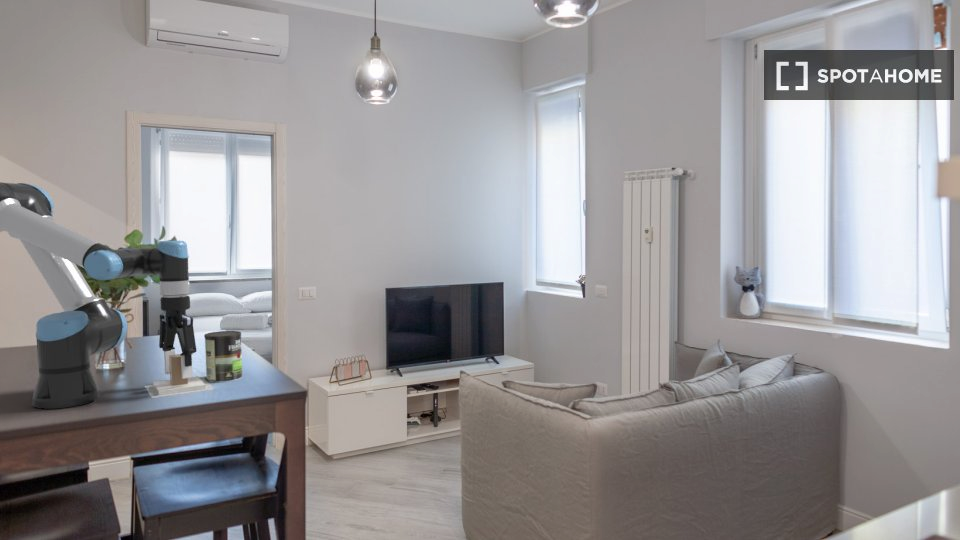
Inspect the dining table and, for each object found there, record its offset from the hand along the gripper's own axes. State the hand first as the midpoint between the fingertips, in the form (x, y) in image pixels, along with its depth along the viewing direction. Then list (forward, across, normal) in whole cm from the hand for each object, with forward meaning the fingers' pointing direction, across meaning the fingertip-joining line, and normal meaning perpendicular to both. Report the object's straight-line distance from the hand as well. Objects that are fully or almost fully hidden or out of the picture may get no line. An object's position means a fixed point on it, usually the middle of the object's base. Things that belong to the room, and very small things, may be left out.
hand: (178, 375), depth 188 cm
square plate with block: (+4, 0, 0) cm, 4 cm away
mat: (+4, 0, 0) cm, 4 cm away
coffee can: (+4, 0, -14) cm, 15 cm away
